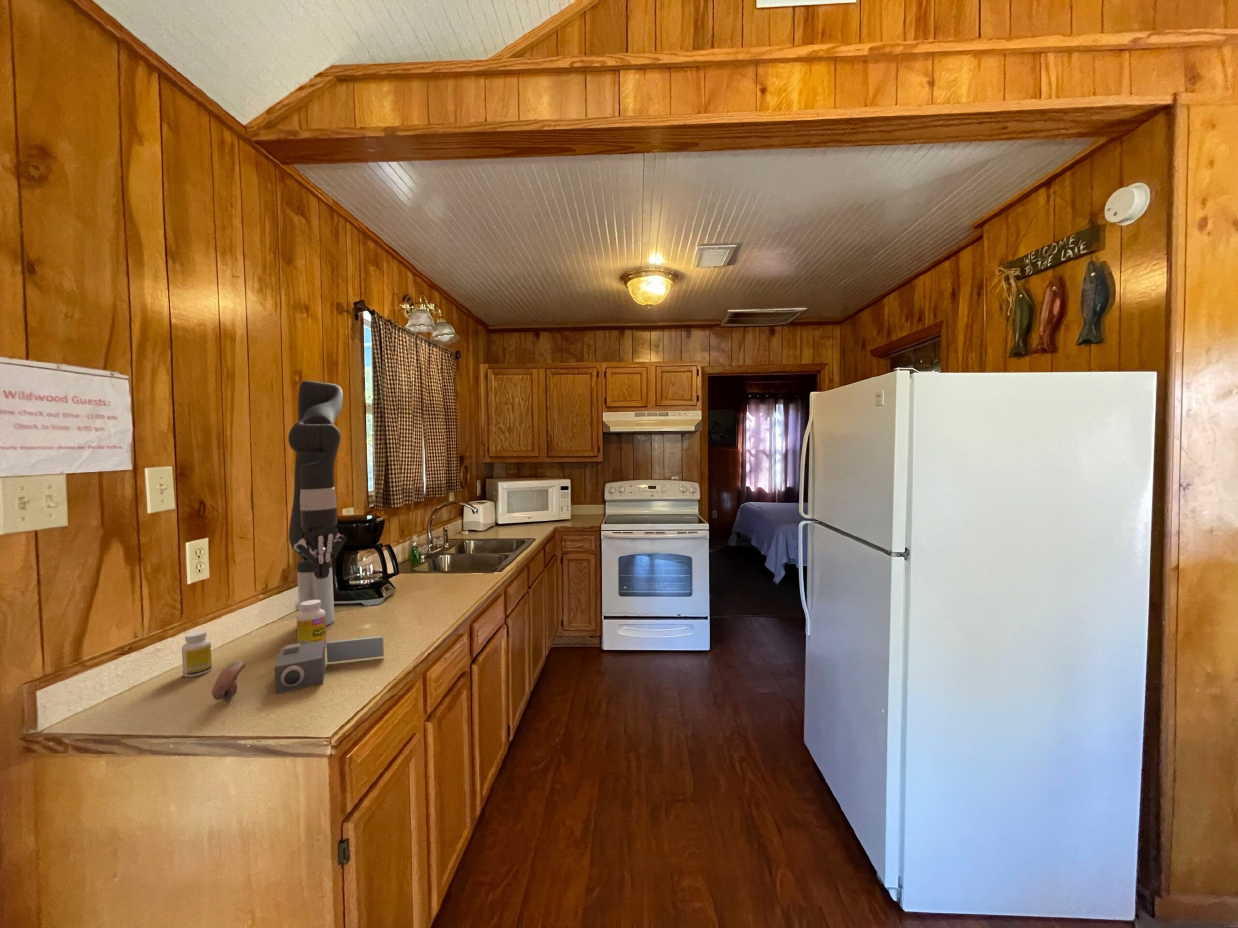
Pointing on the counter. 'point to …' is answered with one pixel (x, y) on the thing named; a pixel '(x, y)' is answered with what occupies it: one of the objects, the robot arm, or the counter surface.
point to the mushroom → (227, 682)
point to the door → (355, 649)
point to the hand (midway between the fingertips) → (322, 577)
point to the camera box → (300, 666)
